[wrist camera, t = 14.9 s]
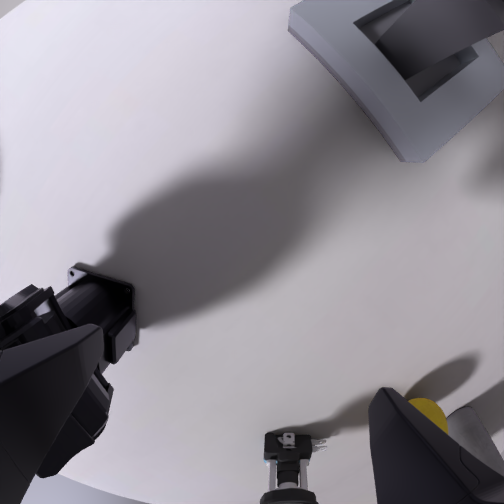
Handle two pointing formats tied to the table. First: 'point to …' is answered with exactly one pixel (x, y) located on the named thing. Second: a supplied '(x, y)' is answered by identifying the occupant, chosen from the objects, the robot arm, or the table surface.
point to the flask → (474, 437)
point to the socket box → (397, 74)
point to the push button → (289, 468)
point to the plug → (438, 31)
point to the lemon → (431, 412)
